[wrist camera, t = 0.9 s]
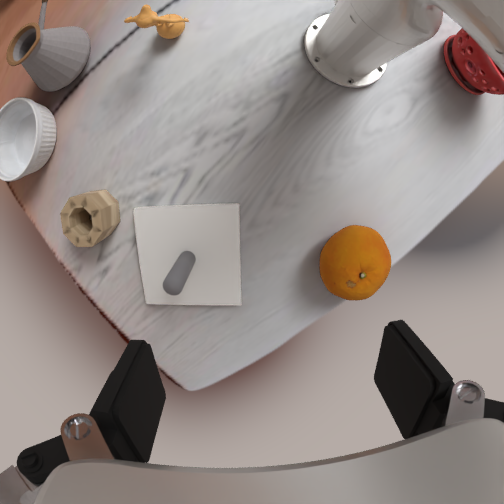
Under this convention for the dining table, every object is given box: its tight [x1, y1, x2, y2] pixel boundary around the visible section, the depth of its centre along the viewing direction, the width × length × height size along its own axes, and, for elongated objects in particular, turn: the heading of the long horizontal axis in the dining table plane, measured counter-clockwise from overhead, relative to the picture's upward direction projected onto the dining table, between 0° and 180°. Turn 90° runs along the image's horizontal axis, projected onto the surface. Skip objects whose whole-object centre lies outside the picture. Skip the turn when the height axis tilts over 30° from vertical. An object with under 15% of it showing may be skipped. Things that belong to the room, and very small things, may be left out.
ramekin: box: [0, 97, 57, 181], centre depth 32 cm, size 13×13×7 cm
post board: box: [133, 203, 242, 305], centre depth 37 cm, size 15×15×10 cm
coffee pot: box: [6, 0, 91, 92], centre depth 22 cm, size 21×12×15 cm, turn 168°
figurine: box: [124, 5, 189, 39], centre depth 26 cm, size 8×6×12 cm
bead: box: [60, 190, 120, 247], centre depth 37 cm, size 7×7×6 cm
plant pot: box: [444, 28, 504, 95], centre depth 25 cm, size 13×13×12 cm
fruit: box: [320, 225, 391, 300], centre depth 38 cm, size 10×10×8 cm
